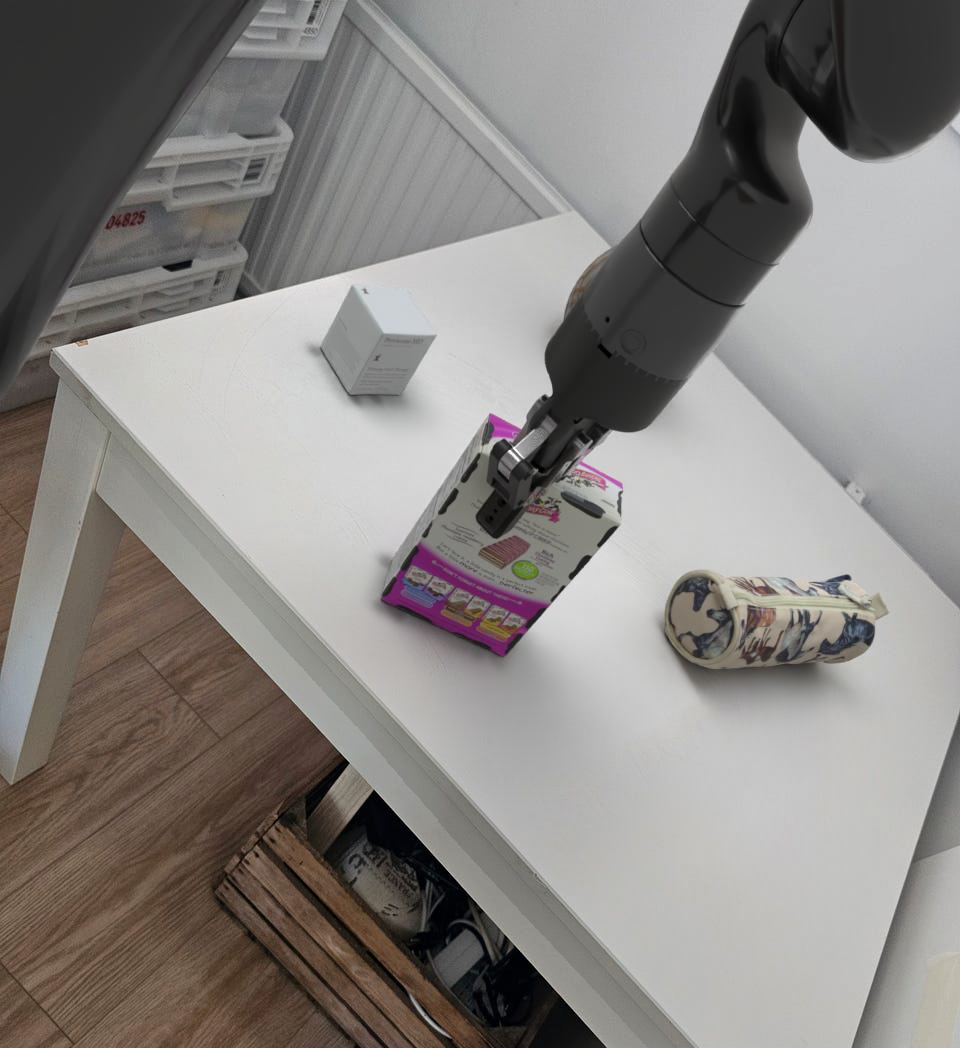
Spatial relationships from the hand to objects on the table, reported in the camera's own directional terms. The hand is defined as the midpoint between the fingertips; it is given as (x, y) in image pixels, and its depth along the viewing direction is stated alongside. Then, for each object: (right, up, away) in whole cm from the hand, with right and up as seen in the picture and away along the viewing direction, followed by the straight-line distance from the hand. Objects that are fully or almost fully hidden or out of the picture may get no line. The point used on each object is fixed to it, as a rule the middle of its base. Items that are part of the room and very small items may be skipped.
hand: (490, 526), depth 68 cm
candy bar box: (-3, -5, +13) cm, 14 cm away
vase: (+12, +23, +47) cm, 54 cm away
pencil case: (+24, -8, +30) cm, 39 cm away
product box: (-12, +17, +25) cm, 32 cm away
